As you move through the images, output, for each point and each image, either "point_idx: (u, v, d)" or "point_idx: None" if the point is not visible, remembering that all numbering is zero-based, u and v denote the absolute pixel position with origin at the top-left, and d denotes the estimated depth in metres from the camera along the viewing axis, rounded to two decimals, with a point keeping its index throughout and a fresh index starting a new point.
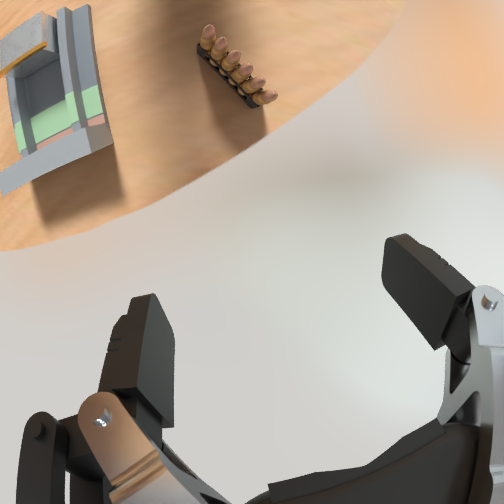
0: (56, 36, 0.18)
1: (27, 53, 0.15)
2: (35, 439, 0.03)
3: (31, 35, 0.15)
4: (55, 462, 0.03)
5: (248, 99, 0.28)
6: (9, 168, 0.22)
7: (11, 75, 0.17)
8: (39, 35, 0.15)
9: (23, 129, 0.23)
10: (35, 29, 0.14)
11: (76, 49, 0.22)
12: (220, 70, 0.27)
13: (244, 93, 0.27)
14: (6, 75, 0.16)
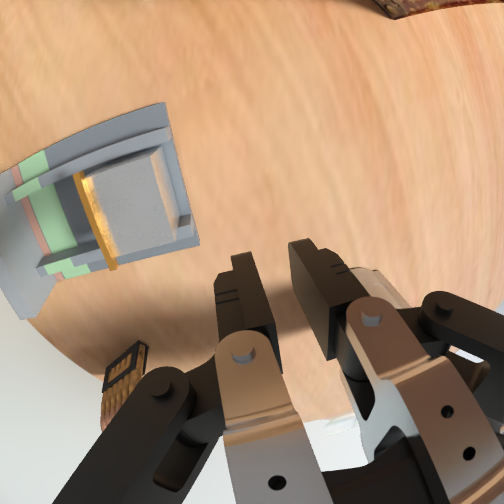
0: None
1: (101, 244, 0.19)
2: (153, 396, 0.05)
3: (134, 234, 0.20)
4: (168, 430, 0.04)
5: (105, 383, 0.34)
6: None
7: None
8: (131, 249, 0.21)
9: None
10: (143, 239, 0.21)
11: None
12: (122, 364, 0.35)
13: (107, 385, 0.33)
14: None
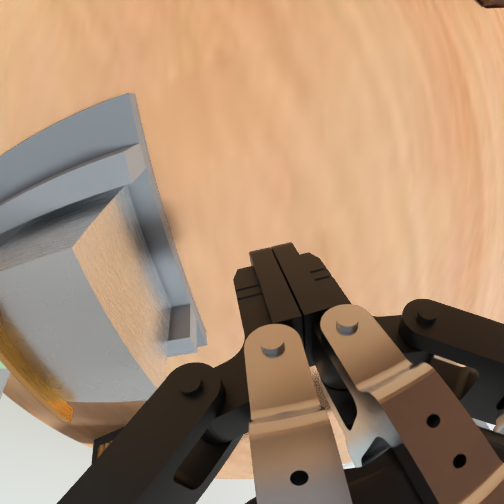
0: None
1: (34, 393, 0.08)
2: (181, 393, 0.05)
3: (85, 383, 0.09)
4: (196, 428, 0.04)
5: None
6: None
7: None
8: (86, 399, 0.09)
9: None
10: (103, 391, 0.09)
11: None
12: None
13: None
14: None
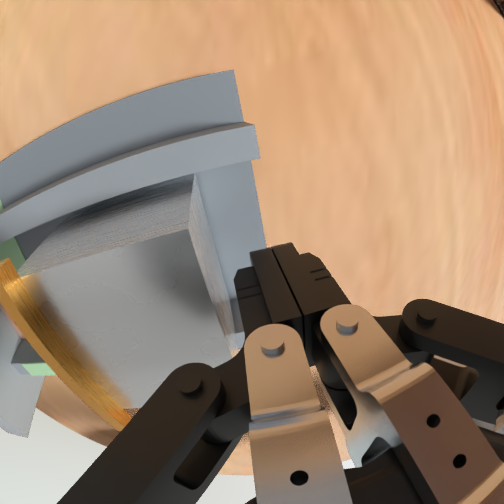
0: None
1: (91, 404, 0.08)
2: (181, 393, 0.05)
3: (158, 385, 0.09)
4: (196, 428, 0.04)
5: None
6: None
7: None
8: None
9: None
10: None
11: None
12: None
13: None
14: None
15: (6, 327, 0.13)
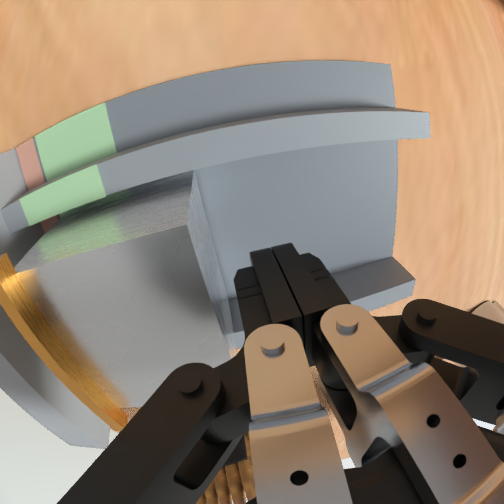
0: None
1: (87, 402, 0.08)
2: (182, 393, 0.05)
3: (155, 384, 0.09)
4: (196, 428, 0.04)
5: None
6: None
7: None
8: None
9: None
10: None
11: None
12: None
13: None
14: None
15: None
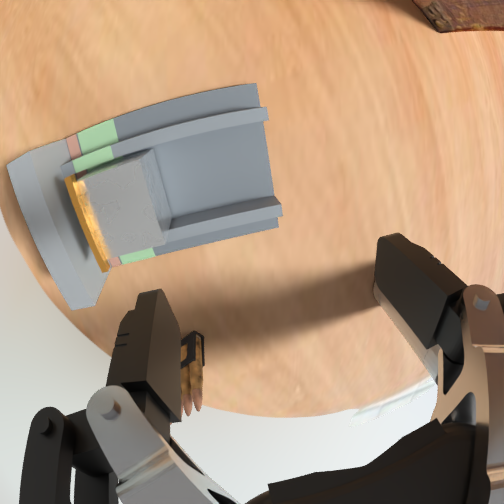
0: None
1: (93, 246, 0.19)
2: (42, 434, 0.04)
3: (125, 236, 0.20)
4: (61, 458, 0.03)
5: None
6: (37, 185, 0.16)
7: None
8: (122, 252, 0.21)
9: None
10: (134, 241, 0.21)
11: None
12: None
13: None
14: None
15: None
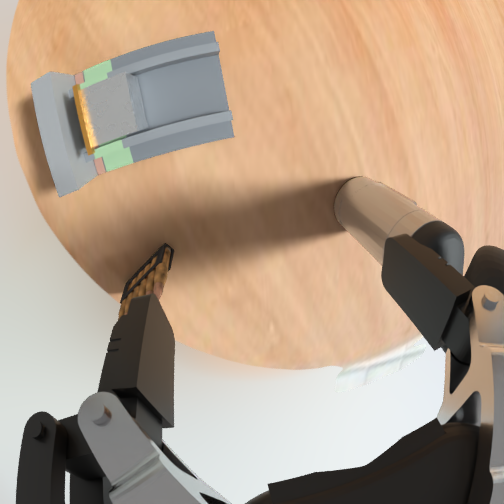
0: None
1: (84, 134, 0.23)
2: (35, 439, 0.03)
3: (109, 126, 0.24)
4: (55, 462, 0.03)
5: (125, 292, 0.39)
6: (52, 94, 0.20)
7: None
8: (105, 139, 0.25)
9: None
10: (115, 130, 0.24)
11: (176, 133, 0.32)
12: (146, 268, 0.39)
13: (127, 292, 0.38)
14: None
15: None
